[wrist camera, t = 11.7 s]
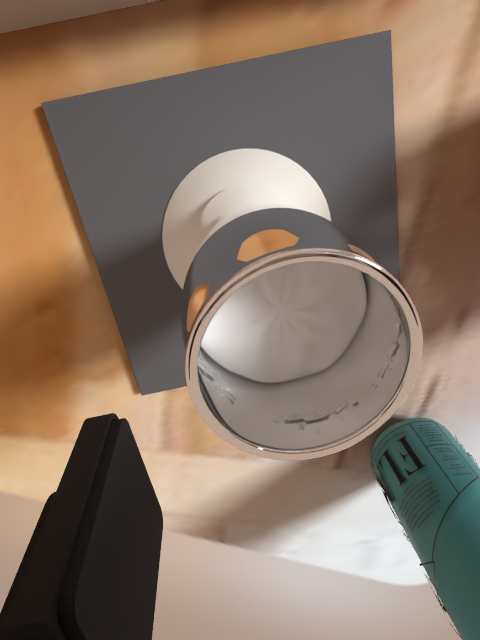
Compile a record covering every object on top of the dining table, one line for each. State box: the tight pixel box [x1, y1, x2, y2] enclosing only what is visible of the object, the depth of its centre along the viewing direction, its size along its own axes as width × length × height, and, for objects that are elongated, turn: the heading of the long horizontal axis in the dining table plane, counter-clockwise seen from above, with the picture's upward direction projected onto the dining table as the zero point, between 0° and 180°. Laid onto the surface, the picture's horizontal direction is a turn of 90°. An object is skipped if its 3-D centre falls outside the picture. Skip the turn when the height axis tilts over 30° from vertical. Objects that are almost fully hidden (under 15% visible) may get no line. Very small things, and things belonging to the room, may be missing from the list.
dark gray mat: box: [41, 30, 400, 395], centre depth 26 cm, size 18×18×1 cm
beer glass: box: [181, 185, 423, 460], centre depth 18 cm, size 7×7×15 cm
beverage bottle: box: [371, 418, 480, 640], centre depth 24 cm, size 6×7×20 cm
